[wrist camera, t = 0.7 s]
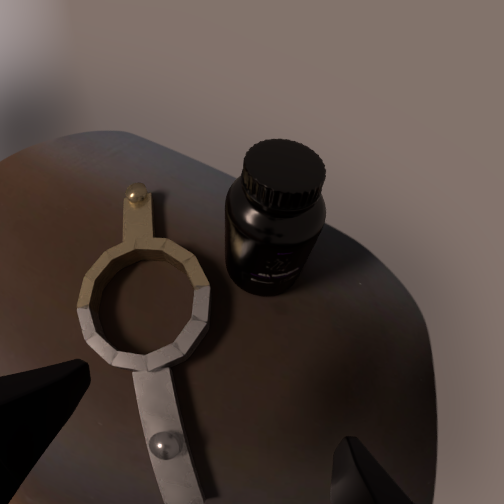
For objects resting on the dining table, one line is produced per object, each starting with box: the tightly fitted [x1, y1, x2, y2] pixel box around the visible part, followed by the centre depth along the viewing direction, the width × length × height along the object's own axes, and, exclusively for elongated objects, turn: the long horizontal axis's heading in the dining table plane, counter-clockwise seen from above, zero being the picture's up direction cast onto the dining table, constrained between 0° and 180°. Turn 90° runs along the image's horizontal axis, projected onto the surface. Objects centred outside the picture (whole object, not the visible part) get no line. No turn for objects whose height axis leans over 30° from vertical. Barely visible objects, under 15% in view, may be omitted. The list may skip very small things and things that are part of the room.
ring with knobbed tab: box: [77, 183, 210, 314], centre depth 25 cm, size 13×12×2 cm
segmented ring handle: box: [77, 285, 212, 504], centre depth 18 cm, size 17×12×2 cm
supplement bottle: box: [225, 139, 326, 296], centre depth 21 cm, size 7×7×12 cm
